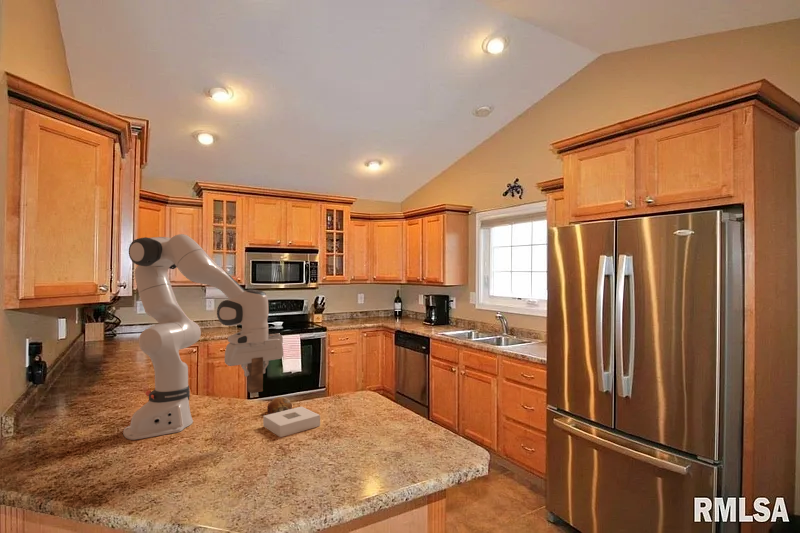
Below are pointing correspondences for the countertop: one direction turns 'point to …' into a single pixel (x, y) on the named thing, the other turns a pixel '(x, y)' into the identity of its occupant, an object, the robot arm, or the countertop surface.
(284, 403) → the bread roll
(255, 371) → the walnut peg
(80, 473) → the countertop surface
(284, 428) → the socket block
